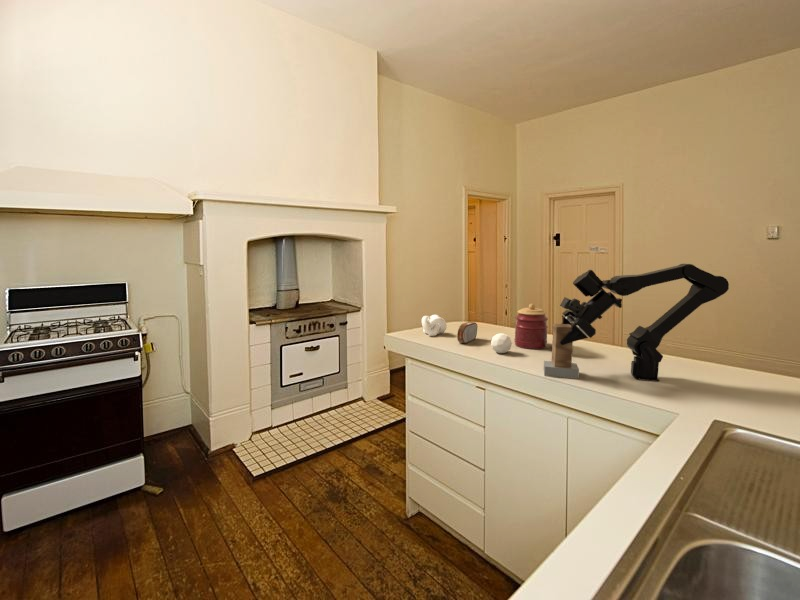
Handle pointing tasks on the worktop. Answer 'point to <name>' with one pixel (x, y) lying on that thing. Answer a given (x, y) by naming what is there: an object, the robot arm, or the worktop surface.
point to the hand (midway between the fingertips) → (557, 340)
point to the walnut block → (561, 346)
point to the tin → (467, 332)
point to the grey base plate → (561, 370)
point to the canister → (531, 328)
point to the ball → (501, 343)
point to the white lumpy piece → (433, 325)
